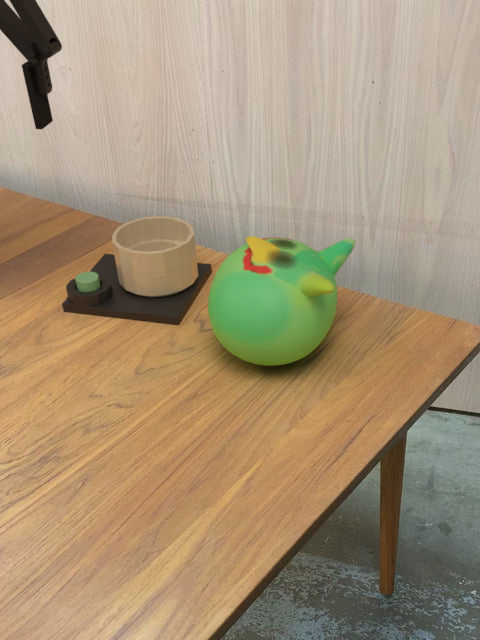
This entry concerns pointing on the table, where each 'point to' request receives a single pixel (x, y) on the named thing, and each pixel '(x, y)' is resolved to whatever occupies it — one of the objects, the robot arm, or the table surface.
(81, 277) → the button
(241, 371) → the table surface
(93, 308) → the scale
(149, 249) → the bowl
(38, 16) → the robot arm
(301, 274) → the toy bird
